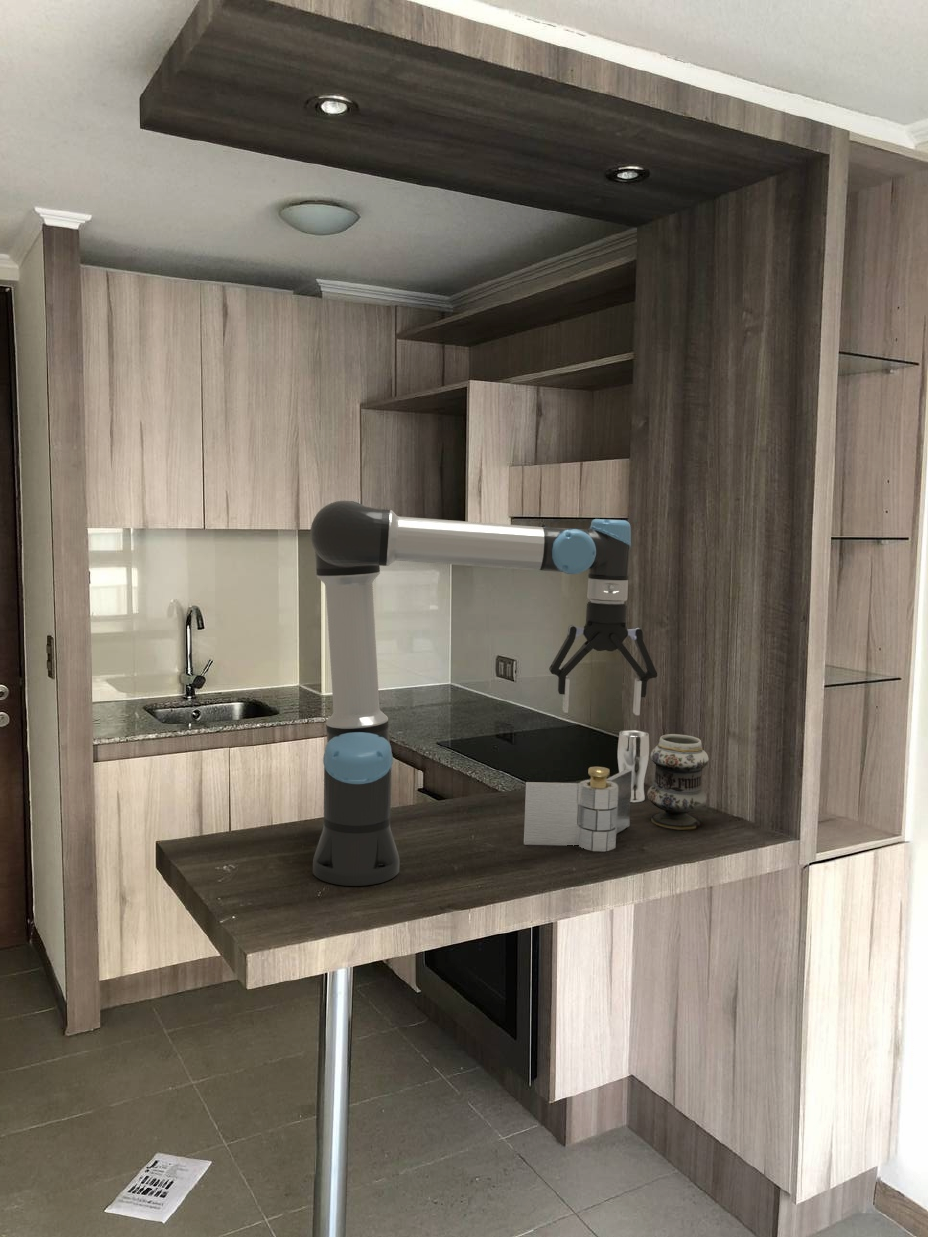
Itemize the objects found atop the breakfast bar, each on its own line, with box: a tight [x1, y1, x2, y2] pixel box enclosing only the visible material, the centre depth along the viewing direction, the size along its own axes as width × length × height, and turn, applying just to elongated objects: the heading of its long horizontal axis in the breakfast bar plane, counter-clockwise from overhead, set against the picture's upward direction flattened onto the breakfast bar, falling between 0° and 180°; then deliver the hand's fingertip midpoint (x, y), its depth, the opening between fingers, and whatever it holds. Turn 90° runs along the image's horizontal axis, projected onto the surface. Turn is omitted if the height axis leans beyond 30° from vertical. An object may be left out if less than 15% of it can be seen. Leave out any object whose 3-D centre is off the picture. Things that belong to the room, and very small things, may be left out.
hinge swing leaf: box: [577, 769, 632, 835], centre depth 193 cm, size 18×7×12 cm, turn 146°
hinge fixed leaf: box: [523, 778, 618, 852], centre depth 189 cm, size 18×7×12 cm, turn 91°
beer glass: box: [617, 729, 650, 803], centre depth 221 cm, size 7×7×15 cm
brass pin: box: [588, 766, 610, 788], centre depth 189 cm, size 4×4×15 cm
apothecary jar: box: [646, 733, 709, 831], centre depth 204 cm, size 12×12×18 cm
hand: (600, 712), depth 187 cm, fingers open, 13 cm apart
